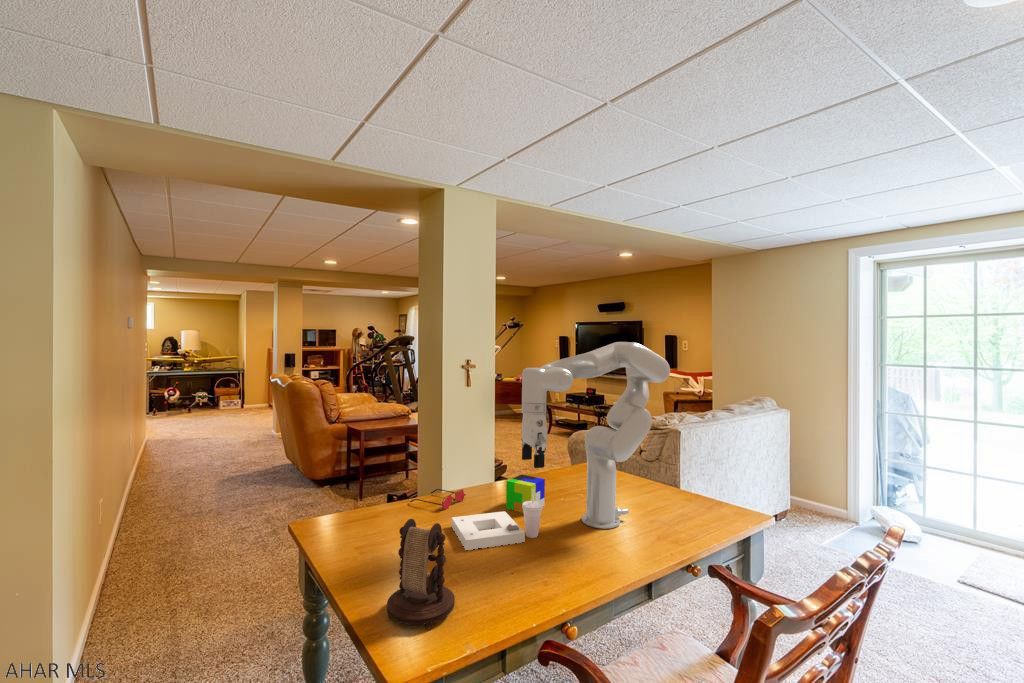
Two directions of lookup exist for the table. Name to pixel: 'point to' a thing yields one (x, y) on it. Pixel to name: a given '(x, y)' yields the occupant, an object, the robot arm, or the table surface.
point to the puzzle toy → (524, 491)
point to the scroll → (420, 578)
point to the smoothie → (532, 516)
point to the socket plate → (501, 535)
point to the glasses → (448, 498)
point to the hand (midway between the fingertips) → (532, 463)
